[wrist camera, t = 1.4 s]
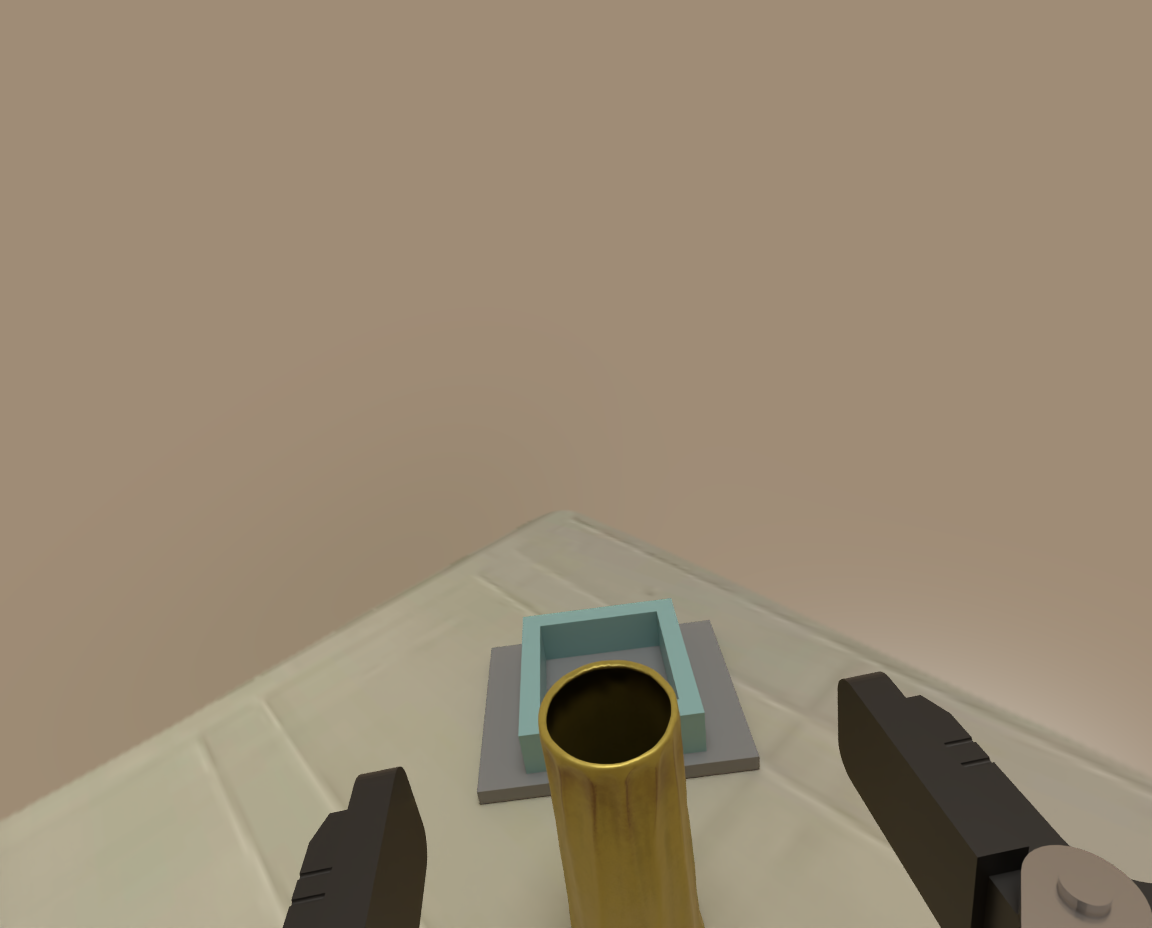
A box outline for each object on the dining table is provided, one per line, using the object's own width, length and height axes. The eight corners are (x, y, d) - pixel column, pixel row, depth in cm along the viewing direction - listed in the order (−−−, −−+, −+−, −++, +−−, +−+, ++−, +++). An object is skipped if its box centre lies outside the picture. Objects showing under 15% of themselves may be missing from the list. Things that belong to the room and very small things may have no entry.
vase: (699, 871, 32) (685, 647, 26) (714, 1020, 27) (700, 779, 21) (577, 872, 33) (536, 653, 27) (567, 1016, 28) (512, 783, 21)
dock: (480, 804, 37) (466, 754, 36) (494, 658, 48) (484, 614, 46) (759, 768, 37) (759, 717, 35) (710, 630, 48) (708, 586, 46)
